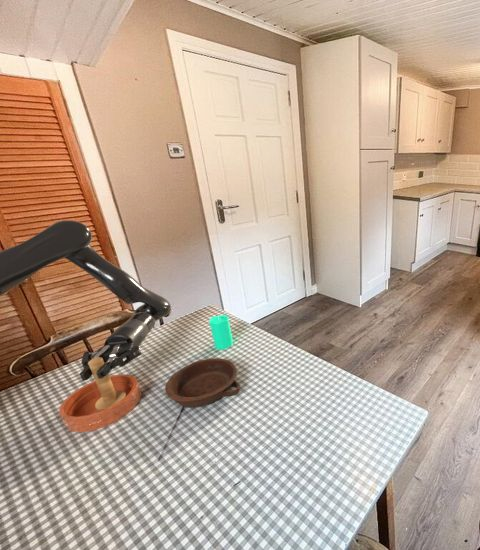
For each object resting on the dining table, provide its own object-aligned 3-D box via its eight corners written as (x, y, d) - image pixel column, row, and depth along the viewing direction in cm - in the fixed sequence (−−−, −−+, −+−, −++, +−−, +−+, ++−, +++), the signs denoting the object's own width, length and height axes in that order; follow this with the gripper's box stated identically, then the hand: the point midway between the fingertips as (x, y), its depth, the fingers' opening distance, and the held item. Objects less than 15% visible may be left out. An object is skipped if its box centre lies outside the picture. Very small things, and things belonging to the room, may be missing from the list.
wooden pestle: (91, 416, 77) (71, 370, 72) (106, 397, 83) (88, 354, 78) (120, 412, 78) (102, 367, 73) (132, 394, 84) (117, 351, 79)
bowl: (50, 439, 72) (41, 424, 70) (91, 392, 86) (85, 378, 84) (123, 428, 75) (117, 413, 73) (152, 384, 89) (147, 371, 87)
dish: (219, 421, 77) (215, 406, 75) (147, 407, 81) (141, 393, 79) (256, 375, 92) (254, 362, 91) (194, 365, 97) (191, 353, 95)
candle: (211, 348, 105) (204, 318, 101) (221, 338, 111) (215, 310, 106) (226, 350, 104) (220, 320, 100) (236, 340, 110) (230, 311, 105)
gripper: (97, 328, 87) (51, 368, 71) (151, 323, 89) (118, 360, 73) (105, 350, 89) (63, 392, 74) (157, 345, 92) (128, 384, 76)
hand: (91, 376), depth 74 cm, fingers closed on wooden pestle, 3 cm apart
